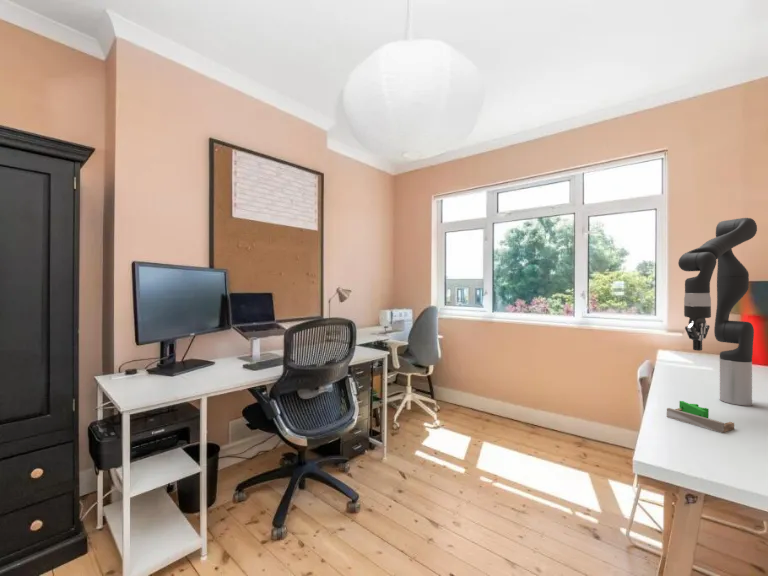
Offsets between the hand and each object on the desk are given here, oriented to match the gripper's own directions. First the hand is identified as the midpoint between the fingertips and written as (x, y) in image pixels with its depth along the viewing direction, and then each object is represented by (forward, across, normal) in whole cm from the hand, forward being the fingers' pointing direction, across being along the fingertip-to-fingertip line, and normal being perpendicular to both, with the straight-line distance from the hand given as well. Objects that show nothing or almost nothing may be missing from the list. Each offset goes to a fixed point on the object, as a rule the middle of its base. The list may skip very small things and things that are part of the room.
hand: (697, 350), depth 129 cm
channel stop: (+22, +15, +7) cm, 28 cm away
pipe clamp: (+23, +12, +4) cm, 26 cm away
